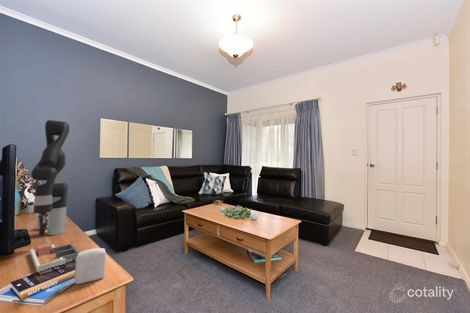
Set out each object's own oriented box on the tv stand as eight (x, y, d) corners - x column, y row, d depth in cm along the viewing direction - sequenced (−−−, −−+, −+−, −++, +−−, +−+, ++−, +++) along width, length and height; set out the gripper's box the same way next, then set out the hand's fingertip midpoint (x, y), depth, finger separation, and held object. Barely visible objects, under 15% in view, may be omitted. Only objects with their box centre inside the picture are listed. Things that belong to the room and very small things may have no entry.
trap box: (30, 254, 107) (30, 246, 107) (69, 245, 119) (69, 238, 119) (38, 275, 87) (38, 266, 87) (83, 262, 99) (84, 253, 99)
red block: (36, 253, 108) (36, 245, 108) (47, 250, 112) (47, 243, 112) (38, 256, 105) (38, 248, 105) (50, 253, 108) (50, 246, 108)
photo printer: (105, 273, 90) (106, 245, 90) (105, 278, 86) (106, 248, 87) (75, 280, 84) (76, 250, 84) (74, 286, 80) (75, 254, 81)
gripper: (54, 204, 113) (53, 236, 112) (50, 201, 122) (48, 231, 121) (35, 206, 107) (33, 239, 107) (32, 203, 116) (30, 234, 115)
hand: (41, 235), depth 114 cm, fingers closed
